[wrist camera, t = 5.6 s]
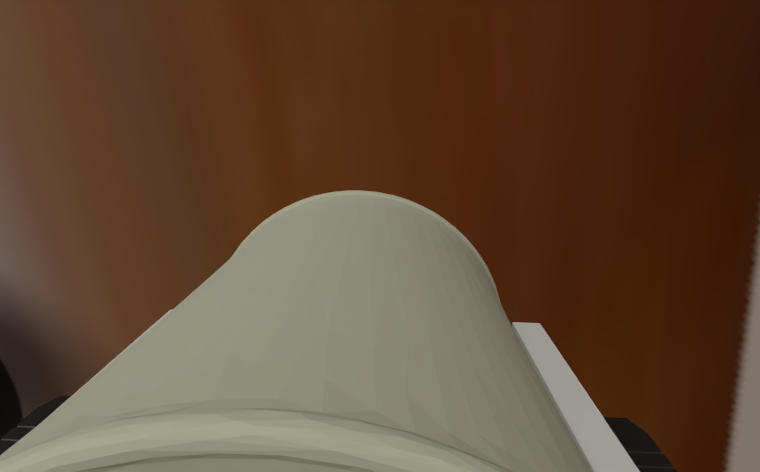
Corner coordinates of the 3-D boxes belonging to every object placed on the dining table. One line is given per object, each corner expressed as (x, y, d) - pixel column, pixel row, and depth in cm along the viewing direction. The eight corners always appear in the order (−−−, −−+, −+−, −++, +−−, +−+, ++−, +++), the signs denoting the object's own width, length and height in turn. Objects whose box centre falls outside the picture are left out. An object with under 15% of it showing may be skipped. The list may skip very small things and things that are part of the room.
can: (363, 124, 14) (224, 177, 3) (560, 340, 16) (1008, 965, 4) (159, 321, 16) (-449, 855, 5) (353, 499, 18) (268, 1251, 6)
